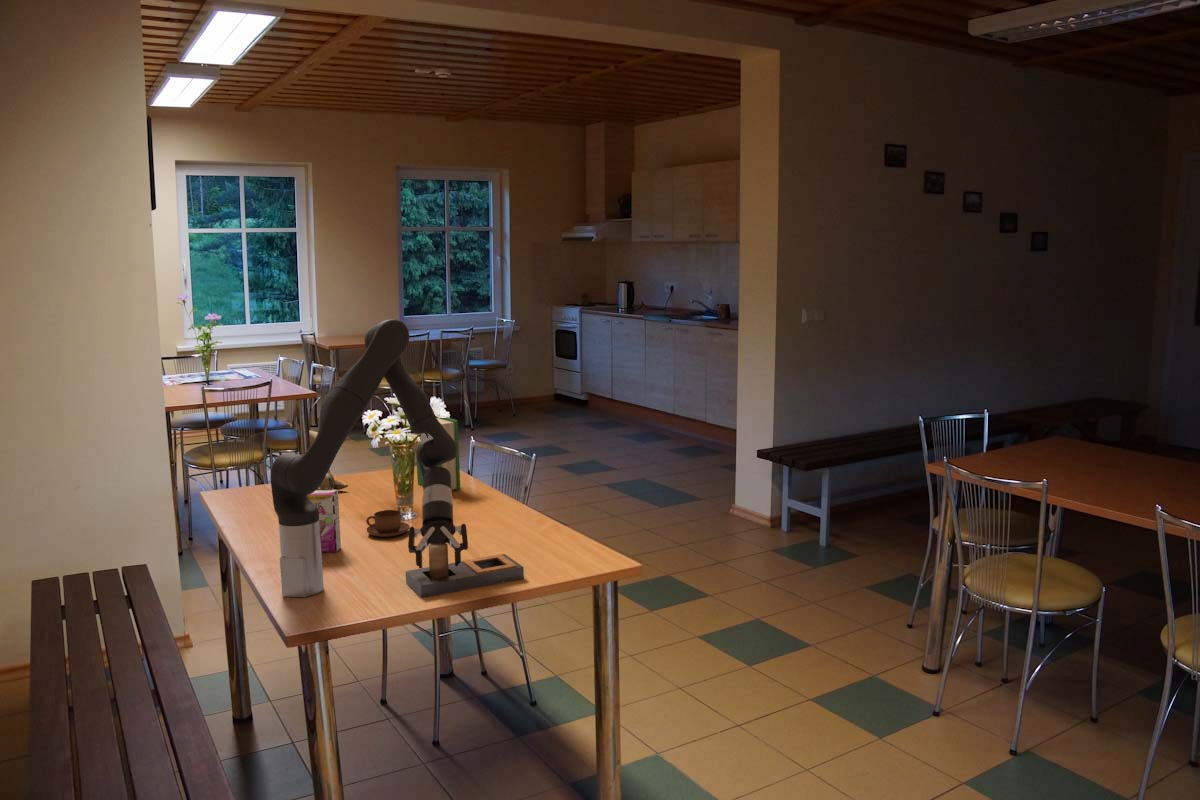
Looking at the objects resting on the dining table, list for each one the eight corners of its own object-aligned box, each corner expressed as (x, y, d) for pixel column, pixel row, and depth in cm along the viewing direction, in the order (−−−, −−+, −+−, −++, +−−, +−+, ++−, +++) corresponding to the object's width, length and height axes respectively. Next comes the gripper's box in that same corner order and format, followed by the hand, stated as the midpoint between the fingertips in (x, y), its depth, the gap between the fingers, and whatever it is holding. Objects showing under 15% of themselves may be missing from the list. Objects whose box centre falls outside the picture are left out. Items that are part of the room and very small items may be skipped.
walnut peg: (445, 589, 231) (443, 548, 230) (427, 588, 232) (425, 547, 230) (451, 582, 235) (450, 543, 234) (434, 581, 236) (432, 542, 235)
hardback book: (460, 490, 327) (457, 420, 324) (440, 493, 323) (437, 423, 319) (437, 481, 341) (434, 414, 338) (417, 484, 337) (414, 416, 334)
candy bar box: (295, 554, 260) (291, 494, 258) (300, 548, 265) (296, 490, 263) (337, 553, 261) (333, 493, 258) (341, 547, 266) (338, 489, 263)
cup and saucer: (367, 542, 271) (366, 520, 270) (366, 530, 282) (365, 509, 281) (411, 537, 274) (410, 516, 273) (407, 526, 285) (406, 506, 285)
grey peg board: (421, 597, 225) (420, 583, 225) (406, 582, 236) (405, 569, 235) (523, 578, 237) (523, 565, 237) (505, 565, 248) (504, 552, 247)
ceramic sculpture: (316, 462, 334) (349, 468, 327) (317, 486, 336) (349, 493, 329) (293, 468, 325) (326, 475, 318) (294, 493, 327) (327, 501, 320)
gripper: (407, 500, 237) (407, 560, 228) (466, 497, 239) (468, 556, 230) (409, 516, 243) (409, 574, 234) (466, 512, 245) (469, 571, 236)
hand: (438, 565), depth 232 cm, fingers open, 8 cm apart
